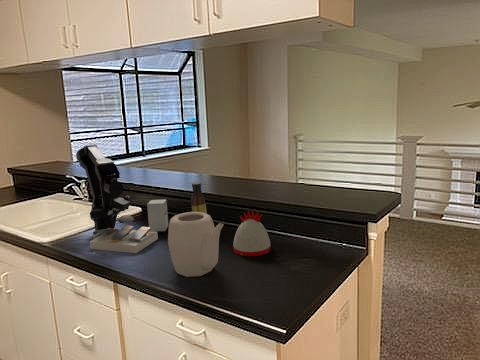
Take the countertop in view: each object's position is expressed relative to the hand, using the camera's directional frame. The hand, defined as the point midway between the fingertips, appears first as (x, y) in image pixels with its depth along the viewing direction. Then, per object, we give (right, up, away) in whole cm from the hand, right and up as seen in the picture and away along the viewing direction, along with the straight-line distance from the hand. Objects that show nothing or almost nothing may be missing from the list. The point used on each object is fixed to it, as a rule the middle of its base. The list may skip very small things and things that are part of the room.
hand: (112, 228), depth 168 cm
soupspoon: (-7, +1, +32) cm, 33 cm away
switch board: (+6, -6, -5) cm, 10 cm away
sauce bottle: (+35, -1, +13) cm, 38 cm away
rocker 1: (-1, -1, -3) cm, 4 cm away
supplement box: (+17, -2, +12) cm, 21 cm away
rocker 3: (+14, -2, -9) cm, 17 cm away
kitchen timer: (+57, -6, -17) cm, 60 cm away
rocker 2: (+6, -1, -6) cm, 9 cm away
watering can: (+39, -10, -35) cm, 53 cm away
